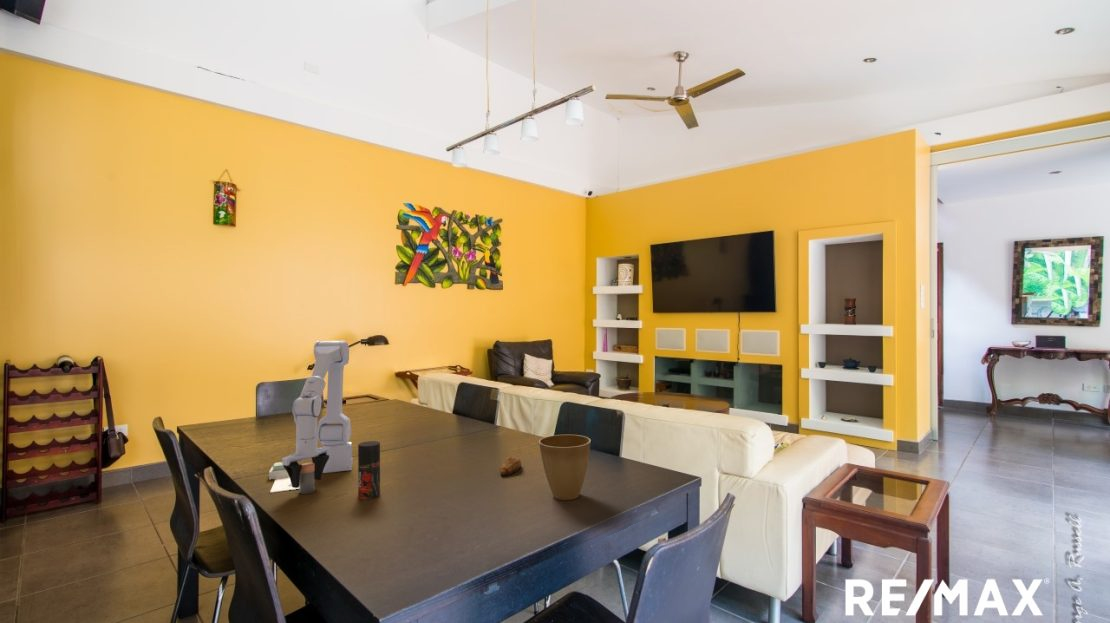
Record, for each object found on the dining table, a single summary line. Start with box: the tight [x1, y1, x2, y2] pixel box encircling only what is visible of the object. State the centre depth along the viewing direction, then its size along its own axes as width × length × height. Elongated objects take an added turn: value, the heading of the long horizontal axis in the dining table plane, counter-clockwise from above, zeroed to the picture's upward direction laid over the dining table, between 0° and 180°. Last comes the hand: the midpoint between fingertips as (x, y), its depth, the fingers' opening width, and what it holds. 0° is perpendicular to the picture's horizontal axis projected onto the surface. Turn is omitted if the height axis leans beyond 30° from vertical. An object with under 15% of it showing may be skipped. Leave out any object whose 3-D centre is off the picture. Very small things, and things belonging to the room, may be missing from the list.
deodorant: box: [357, 440, 381, 500], centre depth 146 cm, size 6×6×15 cm
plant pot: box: [538, 434, 592, 501], centre depth 144 cm, size 15×15×16 cm
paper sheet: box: [269, 477, 299, 494], centre depth 157 cm, size 10×14×1 cm
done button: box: [272, 461, 285, 471], centre depth 164 cm, size 4×4×2 cm
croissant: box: [499, 456, 522, 477], centre depth 168 cm, size 14×7×5 cm, turn 161°
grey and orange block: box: [298, 462, 315, 495], centre depth 149 cm, size 4×4×8 cm
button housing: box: [268, 466, 289, 481], centre depth 164 cm, size 6×6×2 cm
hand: (306, 483), depth 149 cm, fingers open, 7 cm apart
